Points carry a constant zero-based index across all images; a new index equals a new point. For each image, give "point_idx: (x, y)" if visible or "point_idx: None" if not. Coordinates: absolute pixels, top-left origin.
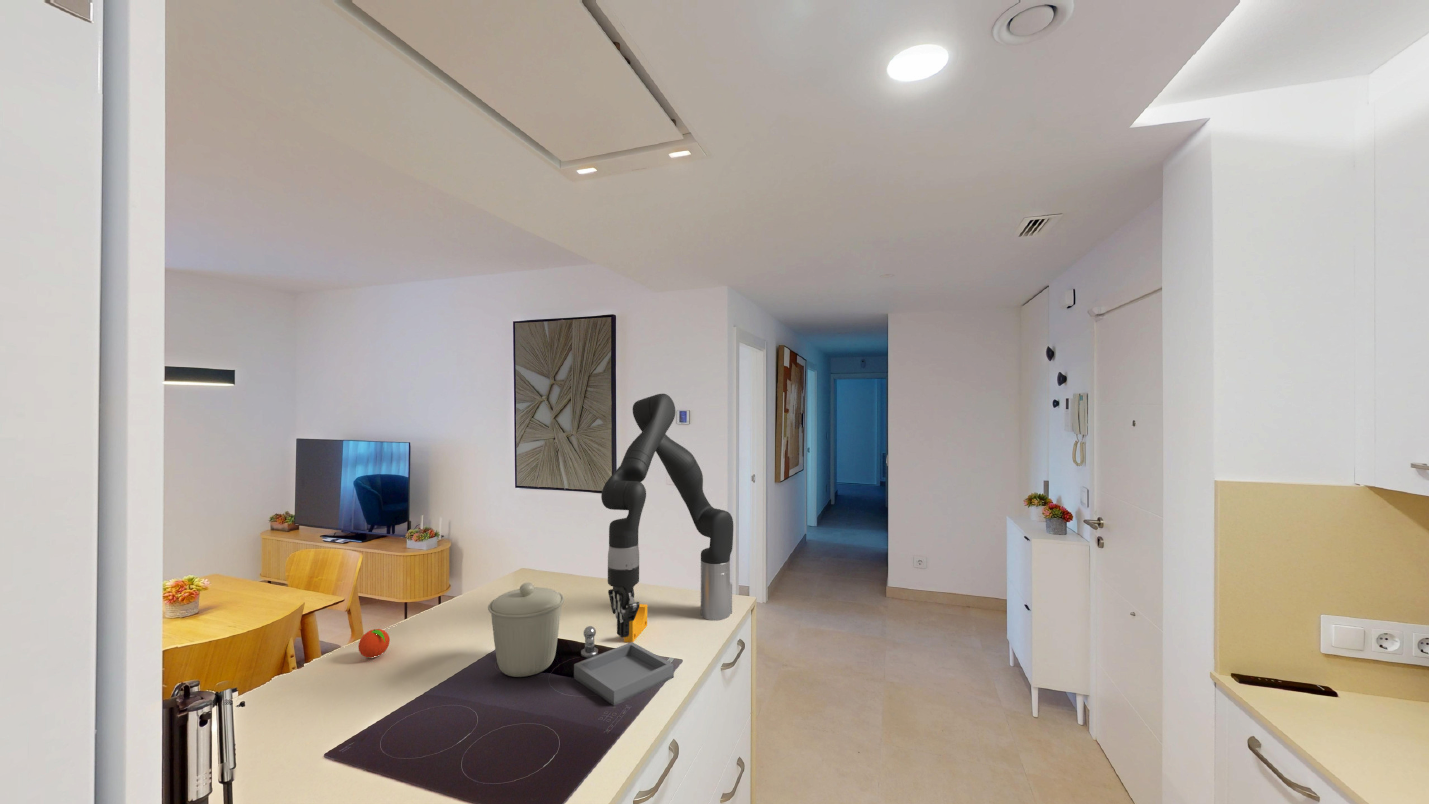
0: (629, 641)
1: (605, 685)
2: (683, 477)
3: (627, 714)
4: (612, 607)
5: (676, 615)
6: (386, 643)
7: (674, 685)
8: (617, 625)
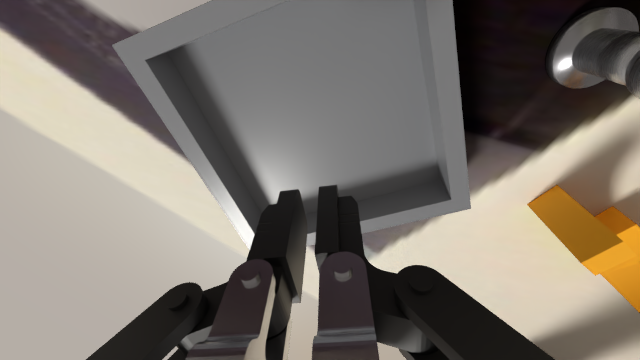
0: (540, 200)
1: (167, 21)
2: None
3: (102, 68)
4: (459, 318)
5: (578, 328)
6: None
7: None
8: (328, 221)
